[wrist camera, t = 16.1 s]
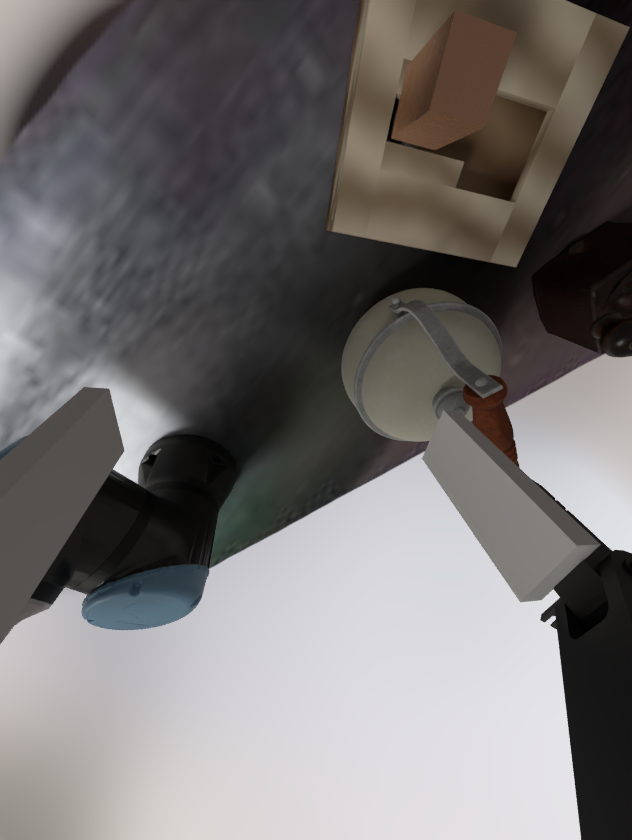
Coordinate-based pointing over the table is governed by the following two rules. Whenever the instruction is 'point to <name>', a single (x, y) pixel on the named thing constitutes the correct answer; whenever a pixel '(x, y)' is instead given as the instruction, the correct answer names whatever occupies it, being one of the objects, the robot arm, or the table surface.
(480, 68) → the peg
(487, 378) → the kettle
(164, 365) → the table surface
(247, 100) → the table surface
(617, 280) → the manual coffee grinder
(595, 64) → the keyhole plate
